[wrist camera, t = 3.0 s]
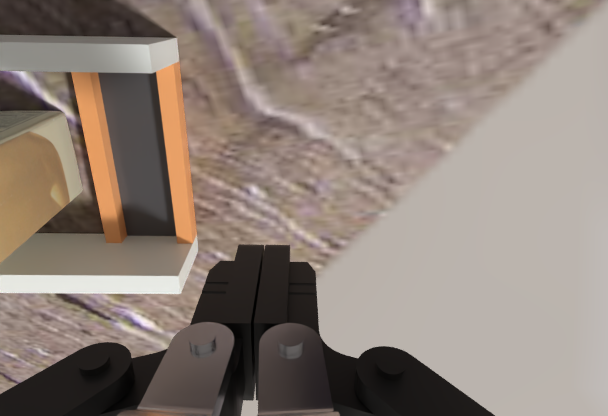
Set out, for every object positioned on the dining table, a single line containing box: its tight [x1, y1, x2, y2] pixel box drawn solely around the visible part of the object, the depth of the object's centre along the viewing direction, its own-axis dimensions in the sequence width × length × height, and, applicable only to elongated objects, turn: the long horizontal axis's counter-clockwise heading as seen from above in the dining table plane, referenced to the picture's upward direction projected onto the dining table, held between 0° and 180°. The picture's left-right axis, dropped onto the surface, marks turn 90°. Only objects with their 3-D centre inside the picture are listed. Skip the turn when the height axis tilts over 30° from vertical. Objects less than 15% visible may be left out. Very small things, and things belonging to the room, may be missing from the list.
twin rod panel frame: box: [0, 35, 198, 294], centre depth 19 cm, size 11×12×4 cm
